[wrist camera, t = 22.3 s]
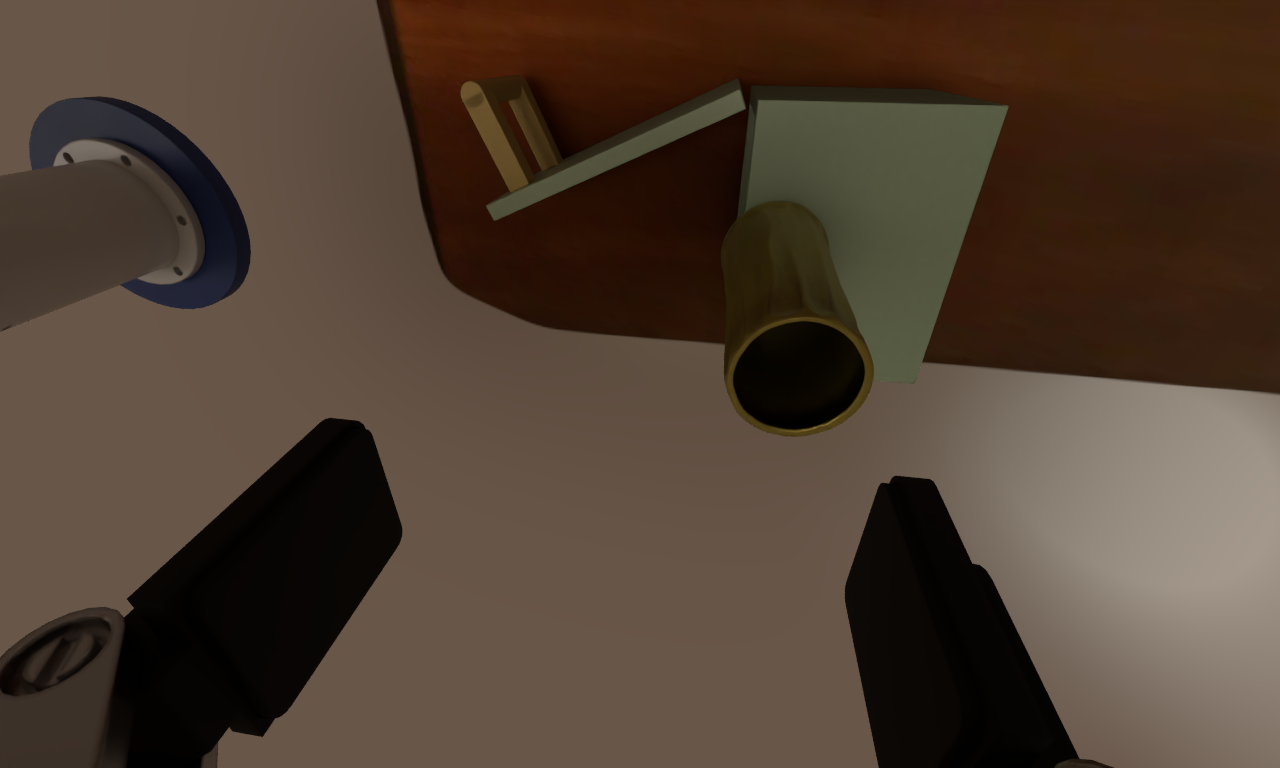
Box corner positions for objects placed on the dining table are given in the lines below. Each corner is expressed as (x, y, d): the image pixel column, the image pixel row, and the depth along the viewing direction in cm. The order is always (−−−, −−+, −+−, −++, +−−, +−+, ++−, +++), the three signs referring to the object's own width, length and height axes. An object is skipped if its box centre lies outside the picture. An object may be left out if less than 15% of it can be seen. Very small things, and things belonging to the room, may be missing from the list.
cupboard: (728, 298, 46) (727, 368, 36) (751, 85, 37) (758, 99, 27) (873, 308, 44) (914, 384, 34) (932, 89, 36) (1009, 105, 26)
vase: (710, 290, 33) (697, 428, 21) (735, 189, 30) (737, 285, 18) (807, 311, 33) (849, 462, 21) (844, 212, 30) (919, 324, 18)
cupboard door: (502, 86, 40) (427, 99, 30) (707, -25, 34) (698, -53, 25) (548, 181, 43) (493, 221, 33) (742, 92, 38) (746, 109, 28)
